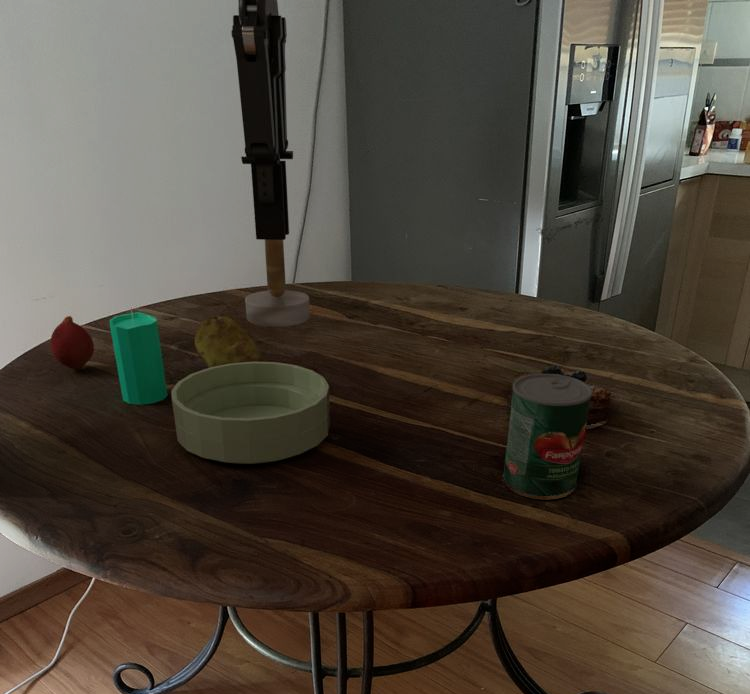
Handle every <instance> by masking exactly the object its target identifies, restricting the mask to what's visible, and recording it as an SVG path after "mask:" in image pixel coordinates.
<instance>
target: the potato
mask: <svg viewBox="0 0 750 694" xmlns="http://www.w3.org/2000/svg"><path fill="white" fill-rule="evenodd" d="M194 346H195V349H196V352H197V355H198V357H199V358H200V359H201V361H202V362H203V363H205V365H206V366H207V367H208V368H211V367H216V366H221V365H226V364H231V363H243V362H265V359H264V357H263V354H262V352H261V350H260V349H259V347H258V345H257V344H256V342H255V340H254V338H253V336H252V335H251V334H250V333H249V332H248V330H246V329H244V328H243V327H242V326H240V325H239V324H238V322H237V321H236V320H234V318H232V317H229V316H225V315H223V314H220V315H212V316H209V317H207V318H206V319H204V320H202V321H200V322H199V324H198V325H197V327H196V330H195V333H194Z"/></svg>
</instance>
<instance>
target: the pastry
mask: <svg viewBox="0 0 750 694" xmlns="http://www.w3.org/2000/svg"><path fill="white" fill-rule="evenodd" d="M539 374H556V375H563V376H568V377H572V378H575V379H578V380H580V381H582V382H584V383H586V384H587V385H588V386H589V387H590V388H591V389H592V396H591V400H590V406H589V412H588V419H587V425H591V424H596V423H598V422H601V421H605V420H607V419H609V420H610V417H609V415H610V414H611V412H609V410H611V409H612V399H611V394H612V393H611V392H610V391H607V390H606V388H603V387H600V386H599V385H597V386H596V385H595V384H592V382H591V381H587V379H588V377H587V373H586V372H585V371H583V370H576V371H566V370H565V369H561V368H560V367H559V366H558V365H553V366H550V367H549V368H547V369H543V370H542V371H541V372H540V373H539ZM527 375H532V373H530V374H529V373H525V374H524V375H521V374H520V375H518V376H517V377H516V378H515V379H513V380H512V382H511V385H510V387H511V391H510V392H509V393H508V395H507V405H508V404H509V405H510V406H511V401H512V395H513V384H514V382H515V381H516V380H517V379H519V378H521V377H524V376H527Z"/></svg>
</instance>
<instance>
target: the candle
mask: <svg viewBox="0 0 750 694" xmlns="http://www.w3.org/2000/svg"><path fill="white" fill-rule="evenodd" d="M158 326H159V325H158V319H157V318H156V317H154V316H153V315H151V314H148V313H144V312H140V311H137V312H133V308H132V307H130V313H125V314H120V315H115V316H113V317H112V318H111V319H109V328H110V335H111V339H112V340H111V341H112V345H113V351H114V358H115V362H116V363H115V364H116V369H117V373H118V374H117V375H118V380H119V385H120V386H119V387H120V392H121V396H122V401H123V402H125V403H127V404H129V405H138V406H140V405H152V404H156V403H159V402H161V401H164V399H166V398H167V397H168V388H167V382H166V375H165V368H164V361H163V354H162V347H161V340H160V339H161V338H160V334H159V333H160V332H159V327H158Z"/></svg>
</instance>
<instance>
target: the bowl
mask: <svg viewBox="0 0 750 694" xmlns="http://www.w3.org/2000/svg"><path fill="white" fill-rule="evenodd" d="M170 394H171V405H172V410H173V411H172V412H173V417H174V425H175V426H174V427H175V431H176V439H177V442H178V443H179V445H181V446H182V448H184V449H185V450H186V451H187V452H189V453H191V454H193V455H196V456H198V457H200V458H202V459H205V460H211V461H216V462H222V463H226V464H235V465H236V464H237V465H254V464H265V463H266V464H267V463H273V462H277V461H278V462H279V461H282V460H286V459H289V458H292V457H295V456H298V455H301V454H303V453H305V452H307V451H309V450H311V449H313V448H315V447H317V446H319V445H320V444H321V443H322V442H323V441H324V440H325V439H326V438H327V437H328V435H329V430H330V426H331V418H330V417H331V416H330V415H331V413H330V411H331V409H330V384H328V382H327V380H326V379H325V377H324V376H322V375H321V374H319V373H317V372H316V371H314V370H313V369H310V368H306V367H303V366H300V365H296V364H290V363H283V362H277V361H264V362H243V363H231V364H226V365H221V366H216V367H211V368H209V367H208V368H204V369H202V370H199V371H196V372H193V373H191V374H189V375H187V376H186V377H183V378H182V379H181V380H178V381H177V382H176V384H175V385H174V387H173V388H172V389H171V391H170Z"/></svg>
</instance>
